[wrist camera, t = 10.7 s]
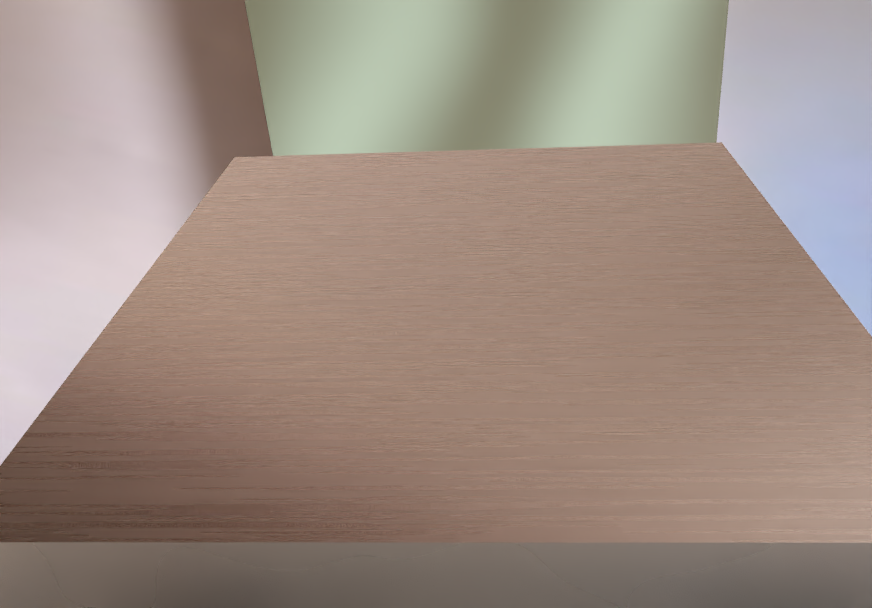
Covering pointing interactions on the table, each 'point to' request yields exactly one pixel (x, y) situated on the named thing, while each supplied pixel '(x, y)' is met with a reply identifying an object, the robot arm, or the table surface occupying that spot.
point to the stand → (486, 73)
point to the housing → (460, 398)
